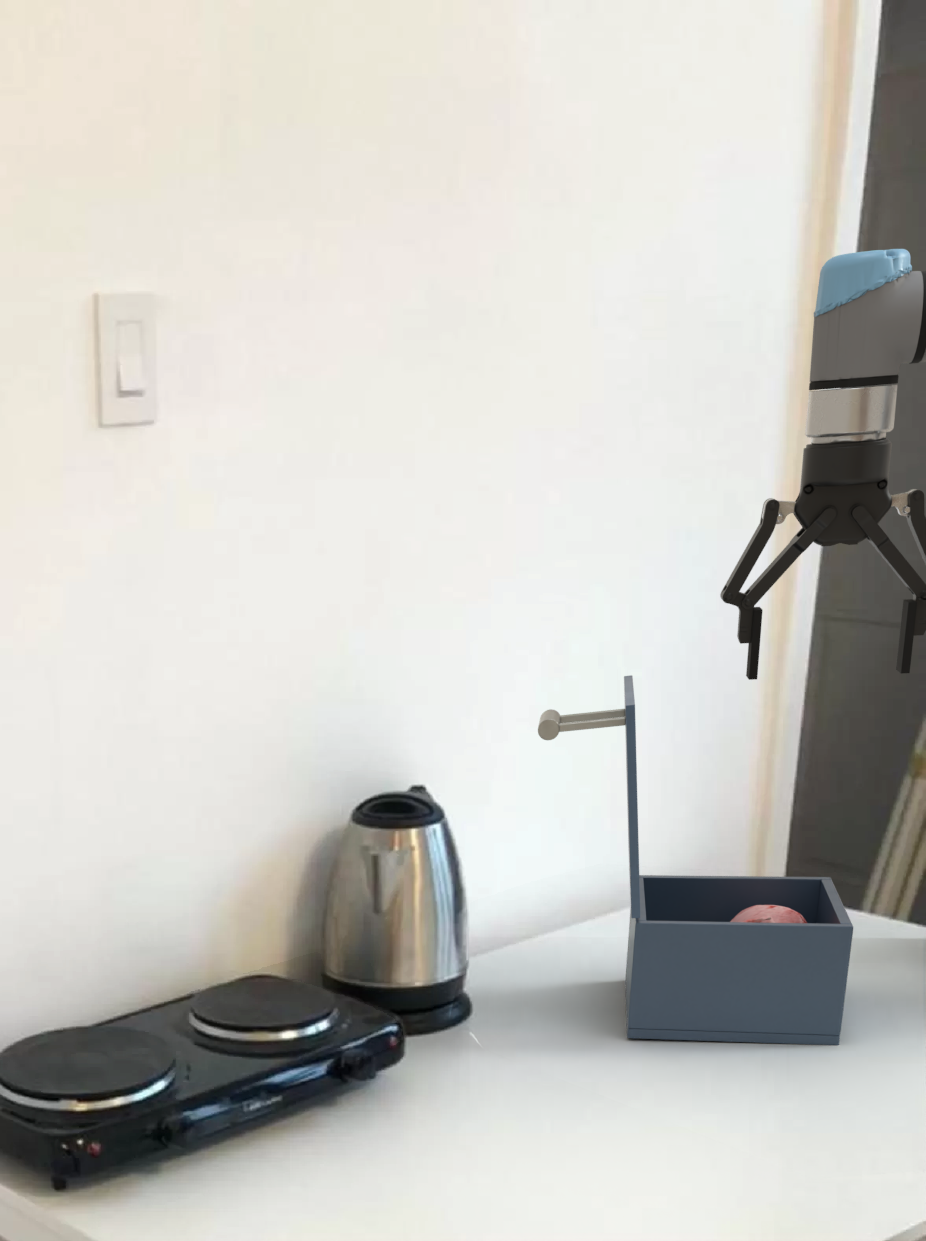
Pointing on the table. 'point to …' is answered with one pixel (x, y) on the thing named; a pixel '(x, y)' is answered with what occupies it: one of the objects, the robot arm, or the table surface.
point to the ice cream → (769, 915)
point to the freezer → (737, 961)
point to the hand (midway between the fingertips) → (826, 674)
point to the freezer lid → (553, 726)
